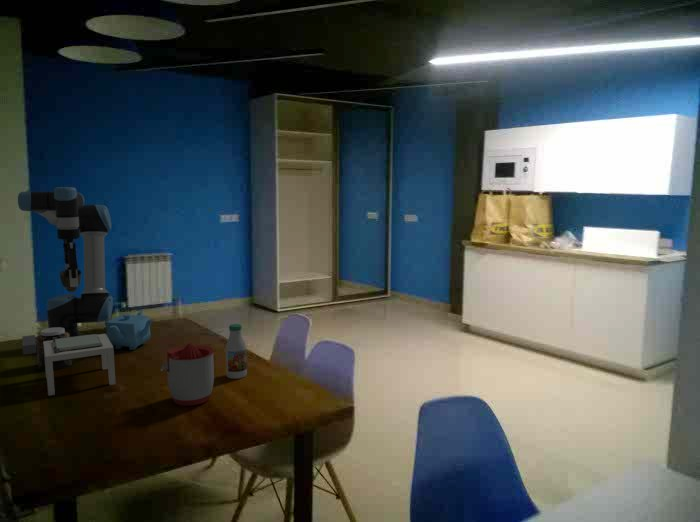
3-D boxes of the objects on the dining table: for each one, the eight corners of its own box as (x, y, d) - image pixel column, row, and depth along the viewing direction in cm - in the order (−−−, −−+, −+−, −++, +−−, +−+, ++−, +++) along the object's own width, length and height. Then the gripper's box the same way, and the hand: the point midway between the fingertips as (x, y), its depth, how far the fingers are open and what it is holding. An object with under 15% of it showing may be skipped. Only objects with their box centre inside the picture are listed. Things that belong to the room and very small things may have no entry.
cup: (85, 288, 213) (85, 270, 210) (75, 296, 206) (74, 277, 203) (67, 285, 213) (66, 266, 210) (56, 292, 207) (55, 274, 204)
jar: (46, 372, 209) (43, 335, 207) (33, 366, 216) (30, 330, 214) (77, 364, 219) (74, 329, 217) (63, 359, 226) (61, 324, 224)
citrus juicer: (161, 395, 186) (159, 339, 184) (212, 389, 193) (211, 335, 190) (163, 413, 172) (160, 352, 169) (218, 405, 178) (216, 347, 175)
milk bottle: (222, 377, 205) (220, 326, 202) (235, 371, 211) (234, 321, 209) (238, 380, 201) (236, 328, 198) (251, 374, 208) (249, 324, 205)
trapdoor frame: (45, 377, 204) (42, 337, 202) (107, 367, 215) (105, 329, 213) (48, 395, 186) (45, 352, 184) (115, 384, 197) (113, 343, 195)
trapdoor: (23, 355, 184) (22, 346, 183) (23, 345, 196) (22, 336, 195) (100, 345, 196) (100, 336, 196) (96, 336, 208) (95, 327, 208)
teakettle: (104, 344, 247) (101, 313, 244) (146, 335, 257) (143, 306, 254) (113, 356, 231) (109, 324, 228) (157, 347, 242) (155, 315, 239)
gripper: (54, 225, 211) (58, 278, 214) (60, 232, 190) (64, 290, 194) (75, 224, 215) (79, 276, 218) (83, 230, 194) (87, 288, 198)
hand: (72, 283), depth 206 cm, fingers open, 13 cm apart
